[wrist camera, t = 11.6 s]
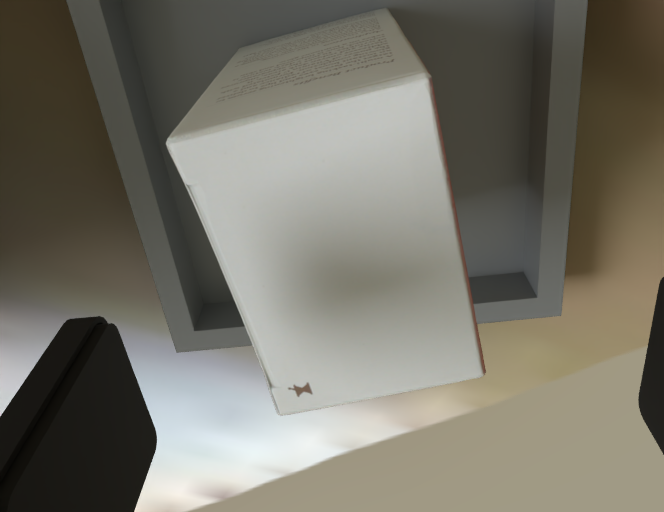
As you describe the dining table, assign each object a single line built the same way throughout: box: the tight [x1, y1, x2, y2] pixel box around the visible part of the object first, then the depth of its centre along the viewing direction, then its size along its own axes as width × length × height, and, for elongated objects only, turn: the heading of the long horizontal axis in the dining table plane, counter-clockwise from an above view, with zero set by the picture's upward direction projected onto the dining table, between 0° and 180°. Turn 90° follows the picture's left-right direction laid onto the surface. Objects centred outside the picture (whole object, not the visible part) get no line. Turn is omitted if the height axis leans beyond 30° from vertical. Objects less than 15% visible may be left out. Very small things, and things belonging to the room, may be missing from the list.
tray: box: [66, 0, 588, 353], centre depth 22 cm, size 16×16×3 cm
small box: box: [166, 8, 486, 416], centre depth 18 cm, size 8×6×10 cm
